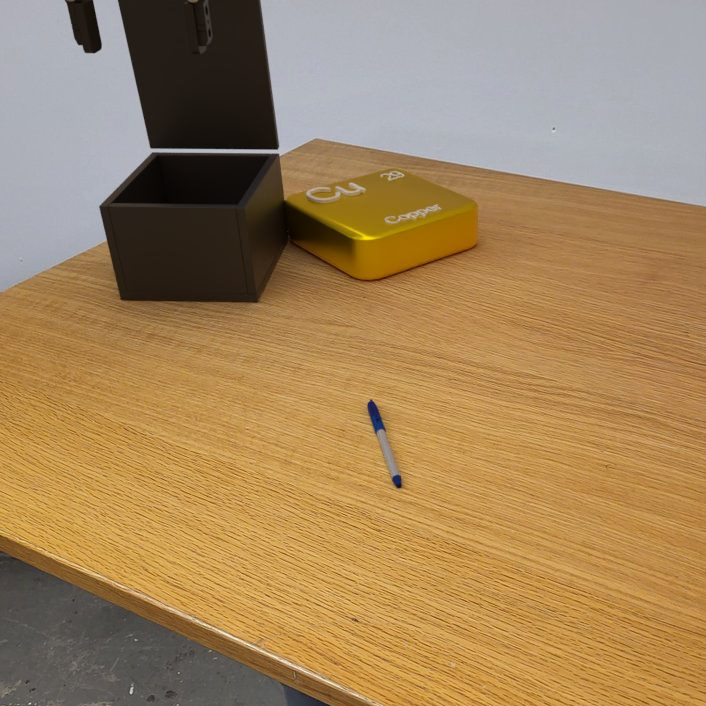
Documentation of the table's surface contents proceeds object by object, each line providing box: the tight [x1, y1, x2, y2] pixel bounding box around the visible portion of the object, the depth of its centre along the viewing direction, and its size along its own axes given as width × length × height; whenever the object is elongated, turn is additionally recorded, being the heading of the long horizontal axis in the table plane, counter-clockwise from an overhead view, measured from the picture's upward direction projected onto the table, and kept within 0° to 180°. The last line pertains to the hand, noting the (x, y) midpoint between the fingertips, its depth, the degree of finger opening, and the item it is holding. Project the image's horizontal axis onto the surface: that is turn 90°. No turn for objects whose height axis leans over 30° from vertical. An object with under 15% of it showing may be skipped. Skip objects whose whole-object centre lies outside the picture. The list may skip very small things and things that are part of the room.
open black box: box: [98, 151, 290, 303], centre depth 88 cm, size 15×13×9 cm
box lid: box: [117, 0, 280, 151], centre depth 88 cm, size 15×13×5 cm
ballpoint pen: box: [367, 398, 403, 489], centre depth 66 cm, size 10×1×1 cm, turn 16°
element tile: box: [284, 167, 479, 281], centre depth 94 cm, size 15×15×5 cm
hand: (146, 51), depth 74 cm, fingers open, 8 cm apart
